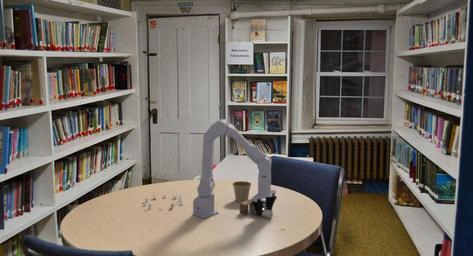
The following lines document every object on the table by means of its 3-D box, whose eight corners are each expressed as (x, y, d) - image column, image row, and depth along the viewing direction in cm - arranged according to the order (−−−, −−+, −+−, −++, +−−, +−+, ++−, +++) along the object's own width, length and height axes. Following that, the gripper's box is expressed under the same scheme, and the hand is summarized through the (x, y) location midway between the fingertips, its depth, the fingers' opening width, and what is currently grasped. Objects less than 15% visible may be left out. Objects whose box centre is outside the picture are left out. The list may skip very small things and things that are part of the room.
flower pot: (251, 203, 213) (251, 186, 212) (232, 203, 213) (232, 186, 212) (251, 197, 222) (251, 181, 221) (232, 197, 223) (232, 181, 221)
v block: (262, 210, 203) (262, 205, 203) (249, 206, 208) (249, 201, 208) (271, 206, 208) (271, 201, 208) (258, 203, 213) (258, 198, 213)
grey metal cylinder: (273, 215, 194) (271, 208, 192) (268, 221, 192) (266, 214, 190) (256, 210, 201) (253, 203, 199) (251, 216, 198) (248, 209, 196)
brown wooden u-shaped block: (245, 215, 197) (245, 204, 196) (239, 213, 199) (239, 203, 198) (258, 210, 204) (258, 199, 203) (252, 208, 206) (252, 198, 205)
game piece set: (188, 208, 208) (188, 200, 207) (146, 213, 200) (145, 205, 200) (178, 196, 226) (177, 189, 225) (139, 200, 218) (138, 193, 218)
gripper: (261, 189, 185) (261, 219, 187) (281, 182, 196) (280, 211, 198) (248, 186, 190) (248, 216, 192) (268, 179, 201) (268, 207, 203)
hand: (264, 213), depth 195 cm, fingers open, 7 cm apart
